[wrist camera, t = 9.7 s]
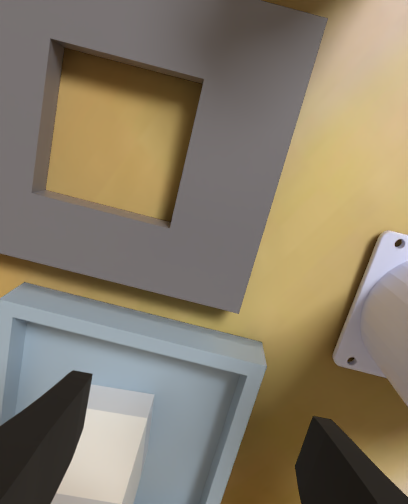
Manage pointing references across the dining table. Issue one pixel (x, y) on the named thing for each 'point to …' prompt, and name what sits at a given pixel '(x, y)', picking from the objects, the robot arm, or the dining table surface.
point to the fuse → (109, 449)
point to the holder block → (200, 147)
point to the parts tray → (139, 381)
